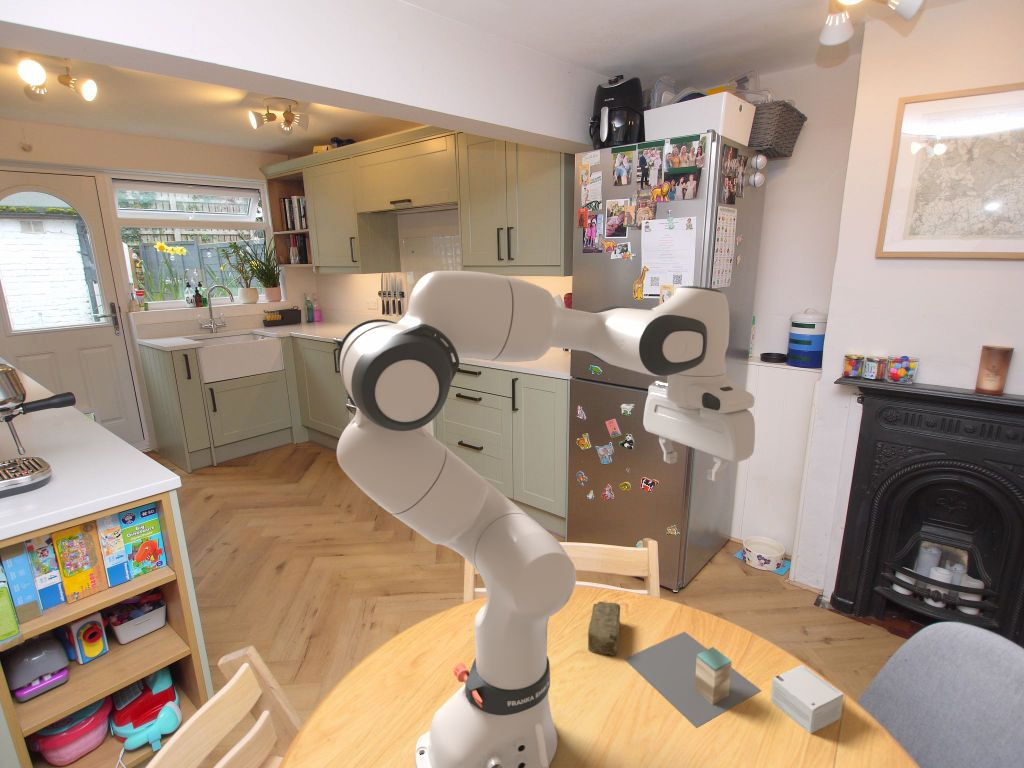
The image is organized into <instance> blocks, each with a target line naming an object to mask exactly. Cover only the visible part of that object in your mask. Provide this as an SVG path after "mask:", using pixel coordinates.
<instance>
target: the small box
mask: <svg viewBox="0 0 1024 768" xmlns="http://www.w3.org/2000/svg"><path fill="white" fill-rule="evenodd" d="M771 682H772V683H771V693H770V694H771V696H770V702H771V703H772V704H774V705H775V706H776V707H777V708H778V709H779V710H781V711H782V712H783V713H784V714H786V715H787V717H789V718H790V719H792V720H793V721H794V722H795V723H796V724H798V726H800V727H801V728H802V729H803V730H805V731H806V732H807V733H808V734H809V735H812V734H813V733H816V732H817V731H820V730H821V729H823V728H825V727H827V726H829V725H831V724H833V723H835V722H836V721H838V720H840V719H841V718H842V712H843V702H844V695H845V694H844V693H843V692H842V691H841V690H839V689H838V688H837V687H835V686H833V685H832V684H831V683H829V682H828V681H826V680H824V678H822V677H821V676H819V675H818V674H817V673H816V672H814V671H813V670H811V669H809V668H808V667H807V666H805V665H804V664H800V665H797V666H796V667H793V668H791V669H789V670H788V671H785V672H783V673H780V674H778V675H777V676H774V677H772V681H771Z"/></svg>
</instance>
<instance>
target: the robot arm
mask: <svg viewBox="0 0 1024 768" xmlns="http://www.w3.org/2000/svg"><path fill="white" fill-rule="evenodd" d="M407 306H408V307H407V310H406V312H405V315H404V316H403V317H402V319H400V320H398V321H397V322H395V321H393V320H388V319H382V318H381V319H380V318H379V319H377V318H376V319H369V320H366V321H363V322H361V323H360V322H359V324H357V325H355V326H353V327H352V328H351V329H350V330H349V331H348V332H347V333H346V334H345V336H344V337H343V339H342V340H341V342H340V344H339V348H338V351H337V352H338V353H337V366H338V367H337V368H338V371H339V375H340V378H341V381H342V383H343V384H342V385H343V386H344V388H345V390H346V393H347V396H348V401H350V404H351V405H352V406H353V407H354V408H355V409H356V411H355V415H354V416H353V418H352V419H351V421H350V422H349V423H348V425H347V426H345V428H344V430H343V431H342V433H341V435H340V437H339V440H338V442H337V447H336V459H337V463H338V465H339V467H340V468H341V469H342V471H343V472H344V473H345V474H346V476H347V477H348V478H349V479H350V480H351V481H352V482H353V483H354V484H355V485H356V486H357V487H358V489H360V490H361V491H362V492H363V493H364V494H365V495H366V496H367V497H368V498H370V499H371V500H372V501H374V503H376V504H377V505H378V506H380V508H382V509H384V510H385V511H386V512H387V513H390V514H391V515H392V516H393V517H395V518H396V519H398V520H399V521H400V522H402V523H403V524H405V525H406V526H408V527H409V528H411V529H412V530H414V531H415V533H417V534H419V535H421V536H422V537H423V538H424V539H426V540H428V541H429V542H431V543H433V544H435V545H443V546H444V547H446V548H449V549H451V550H453V551H454V552H456V553H458V554H459V555H460V556H462V557H463V559H465V561H467V562H468V563H469V564H470V565H471V566H472V567H473V569H475V570H476V571H477V573H478V574H479V575H480V576H481V578H482V582H483V585H484V586H485V587H484V588H485V591H486V602H485V604H484V605H482V607H480V608H479V610H478V611H477V613H476V616H475V619H474V646H475V647H474V649H475V652H474V653H475V657H474V660H473V663H472V665H471V668H470V670H468V669H467V666H466V665H465V664H464V663H462V662H461V663H457V664H456V665H455V667H453V674H454V676H455V677H456V678H457V680H458V682H460V683H464V684H463V685H462V686H461V687H460V688H459V689H458V690H457V691H456V692H455V693H454V694H453V695H452V696H451V697H450V698H449V699H448V700H447V701H446V702H445V703H444V704H443V705H442V706H441V707H440V708H439V709H438V710H437V711H436V712H435V713H434V714H433V717H432V719H431V720H432V721H431V724H430V729H429V730H428V731H427V732H425V733H423V734H422V735H420V737H419V738H417V742H416V745H415V753H414V754H415V755H414V758H415V759H414V761H416V763H415V768H416V767H417V768H550V765H551V763H552V760H553V759H554V757H555V755H556V752H557V747H558V733H557V730H556V727H555V724H554V721H553V718H552V712H551V707H550V700H549V690H550V686H551V669H550V667H551V665H550V660H549V656H548V627H549V626H548V625H549V624H548V623H549V619H550V617H552V616H554V615H556V614H557V613H559V612H560V611H561V610H562V609H563V608H564V607H565V606H566V605H567V604H568V602H569V601H570V599H571V597H572V595H573V592H574V590H575V587H576V581H577V571H576V568H575V567H576V566H575V565H574V563H573V561H572V559H571V557H570V556H569V555H568V553H567V551H566V550H565V549H564V547H563V546H562V544H561V543H560V542H559V541H558V539H557V538H555V536H553V535H552V534H551V533H550V532H549V531H548V530H546V529H545V528H544V527H543V526H541V524H539V522H537V521H536V520H534V519H533V518H532V517H531V516H530V515H528V514H527V513H526V512H525V511H524V510H523V509H522V508H520V507H519V506H518V505H516V504H515V503H514V502H513V501H512V500H511V499H510V498H508V497H507V496H506V495H505V494H503V493H502V492H501V491H499V490H498V489H497V488H496V487H494V485H493V484H491V483H490V482H489V481H487V479H485V478H484V477H482V476H481V474H479V473H478V472H477V471H475V469H473V468H472V467H471V466H470V465H469V464H467V463H466V462H465V461H463V460H462V459H461V458H460V457H459V456H457V455H456V454H455V453H454V452H453V451H452V450H450V449H449V448H448V446H446V445H444V444H443V443H442V442H440V441H439V439H437V438H436V437H435V436H434V435H432V434H431V433H430V432H429V431H427V429H425V427H424V426H426V425H428V424H429V423H431V422H432V421H433V420H434V419H435V418H436V417H437V416H438V414H439V413H440V412H441V410H442V408H443V407H444V405H445V403H446V401H447V398H448V395H449V392H450V388H451V385H452V383H453V380H454V378H455V376H456V374H457V373H458V370H459V367H460V359H474V360H475V359H476V360H483V361H490V362H491V361H492V362H501V363H502V362H503V363H521V362H522V363H523V362H524V363H525V362H532V361H538V360H539V359H541V358H542V357H544V355H545V354H546V353H547V352H548V351H549V350H550V349H551V348H557V349H566V350H574V351H581V352H585V353H586V354H587V355H589V356H591V358H593V359H594V360H596V361H597V362H598V363H601V364H603V365H606V366H609V367H610V366H611V367H617V368H622V369H627V370H628V371H633V372H638V373H640V374H645V375H648V376H654V377H667V381H666V382H665V381H662V380H655V381H654V382H652V383H650V385H648V391H647V392H648V393H647V394H648V395H647V397H646V401H645V406H644V411H643V420H642V421H643V422H642V423H643V427H644V430H645V431H646V432H648V433H650V434H653V435H657V436H658V442H659V445H660V447H661V450H662V451H663V462H665V463H668V464H669V465H671V464H672V465H673V464H676V463H677V462H678V458H677V457H678V452H676V451H675V448H674V446H673V442H676V443H678V444H681V445H685V446H687V447H690V448H693V449H695V450H698V451H701V452H704V453H707V454H710V455H712V456H713V463H715V464H714V466H713V467H712V468H707V471H706V474H707V475H706V478H707V480H709V481H712V482H714V483H718V482H721V481H722V480H723V471H724V470H725V469H726V467H727V466H728V465H729V463H730V462H732V463H739V462H743V461H746V460H748V459H749V458H751V456H752V455H753V454H754V451H755V444H756V443H755V441H756V439H755V438H756V426H755V425H756V421H755V418H754V416H753V414H752V412H751V411H750V410H749V409H752V408H754V405H755V397H754V395H753V394H752V393H751V392H749V391H747V390H745V388H742V387H740V386H739V385H737V384H736V383H735V382H733V381H732V380H730V379H729V378H727V372H728V371H727V369H728V368H727V365H726V352H727V350H728V347H729V342H730V341H729V340H730V309H729V303H728V298H727V296H726V294H725V293H724V292H722V291H721V290H718V289H716V288H712V287H706V286H705V287H703V286H697V285H684V286H679V287H677V288H676V289H675V292H674V293H673V295H671V296H670V298H668V299H666V300H665V301H664V302H663V303H660V304H659V305H657V306H655V307H653V308H651V309H639V308H631V307H626V306H622V305H610V306H605V307H603V308H600V309H597V310H594V311H585V310H584V311H583V310H578V309H572V308H568V307H562V306H558V305H557V303H556V300H555V298H554V297H553V295H552V293H551V292H550V291H549V290H548V289H546V288H544V287H542V286H539V285H536V284H534V283H532V282H529V281H526V280H522V279H520V278H515V277H512V276H508V275H502V274H497V273H496V274H495V273H491V272H489V273H488V272H481V271H473V270H472V271H469V270H435V271H431V272H428V273H427V274H425V275H424V276H421V278H420V279H419V280H418V281H417V283H416V284H415V285H414V287H413V290H412V291H411V293H410V296H409V300H408V305H407ZM421 753H424V754H421ZM420 754H421V755H420Z"/></svg>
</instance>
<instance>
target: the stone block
mask: <svg viewBox="0 0 1024 768" xmlns="http://www.w3.org/2000/svg"><path fill="white" fill-rule="evenodd" d="M620 619H621V605H620V604H618V603H617V602H614V603H613V602H607V601H606V602H605V601H597V603H594V604H593V605H592V611H591V616H590V621H589V623H588V624H589V625H588V632H587V633H588V634H587V636H588V637H587V639H588V640H587V646H588V647H587V650H588V651H589V652H592V653H593V654H597V655H603V656H604V655H610V656H613V657H614V656H616V654H618V647H619V645H618V644H619V637H620V624H621V623H620V621H621V620H620Z"/></svg>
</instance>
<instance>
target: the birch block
mask: <svg viewBox="0 0 1024 768" xmlns="http://www.w3.org/2000/svg"><path fill="white" fill-rule="evenodd" d="M707 649H708V650H706V651H704V652H701V653H699V654H697V660H696V675H695V690H696V691H697V692H699V693H700V694H701V695H702V696H703V697H704V698H705V699H707V700H708V701H709V702H710V703H711V704H712V705H713V704H715V703H717V702H719V701H720V700H722V699H724V698H726V697H728V696H729V687H730V674H731V668H732V660H731V659H730V658H728V657H727V656H725V654H723V653H722V652H721V651H719V650H718V649H716V648H715V647H714V646H712V647H710V648H707Z"/></svg>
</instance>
